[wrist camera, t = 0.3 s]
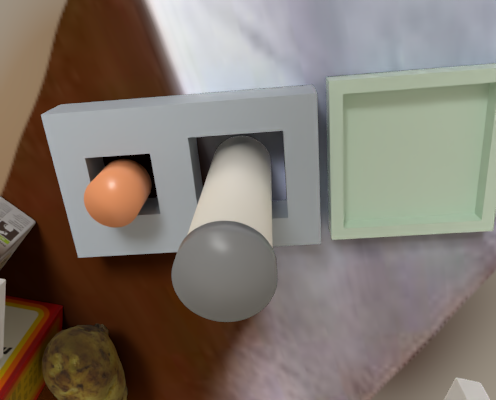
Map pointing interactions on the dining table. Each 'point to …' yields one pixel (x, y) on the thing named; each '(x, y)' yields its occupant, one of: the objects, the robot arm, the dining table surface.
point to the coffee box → (12, 229)
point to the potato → (84, 365)
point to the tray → (411, 152)
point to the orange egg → (118, 193)
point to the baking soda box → (26, 346)
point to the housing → (182, 161)
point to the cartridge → (230, 237)
